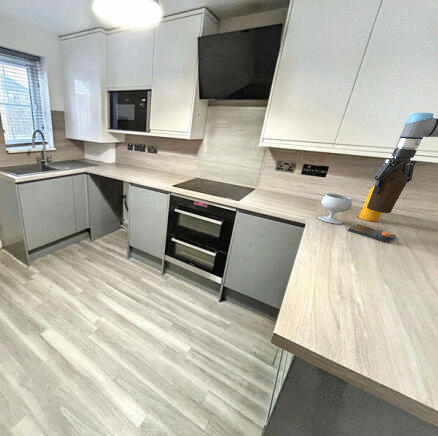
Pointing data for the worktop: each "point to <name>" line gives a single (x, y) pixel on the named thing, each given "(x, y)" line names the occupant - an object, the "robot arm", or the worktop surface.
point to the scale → (371, 233)
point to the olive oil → (388, 191)
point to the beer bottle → (367, 213)
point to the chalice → (335, 206)
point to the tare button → (386, 234)
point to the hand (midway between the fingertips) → (385, 193)
